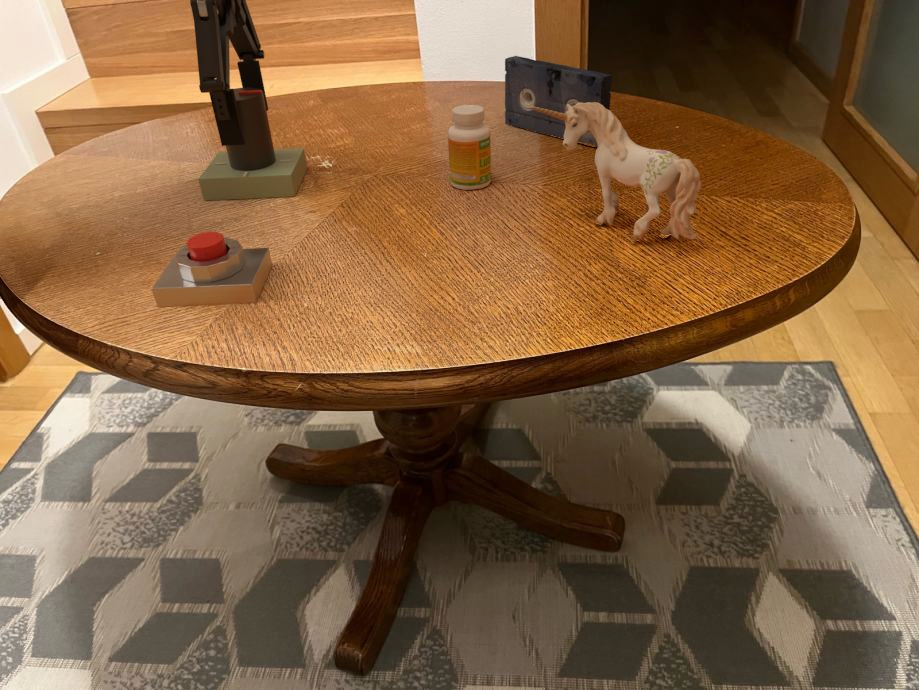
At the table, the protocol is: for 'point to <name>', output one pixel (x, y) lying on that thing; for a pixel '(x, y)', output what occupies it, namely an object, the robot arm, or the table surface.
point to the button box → (214, 278)
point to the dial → (252, 132)
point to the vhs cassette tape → (550, 94)
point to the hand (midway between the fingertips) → (246, 126)
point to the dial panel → (254, 177)
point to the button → (206, 246)
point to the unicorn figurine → (633, 169)
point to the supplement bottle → (469, 148)
